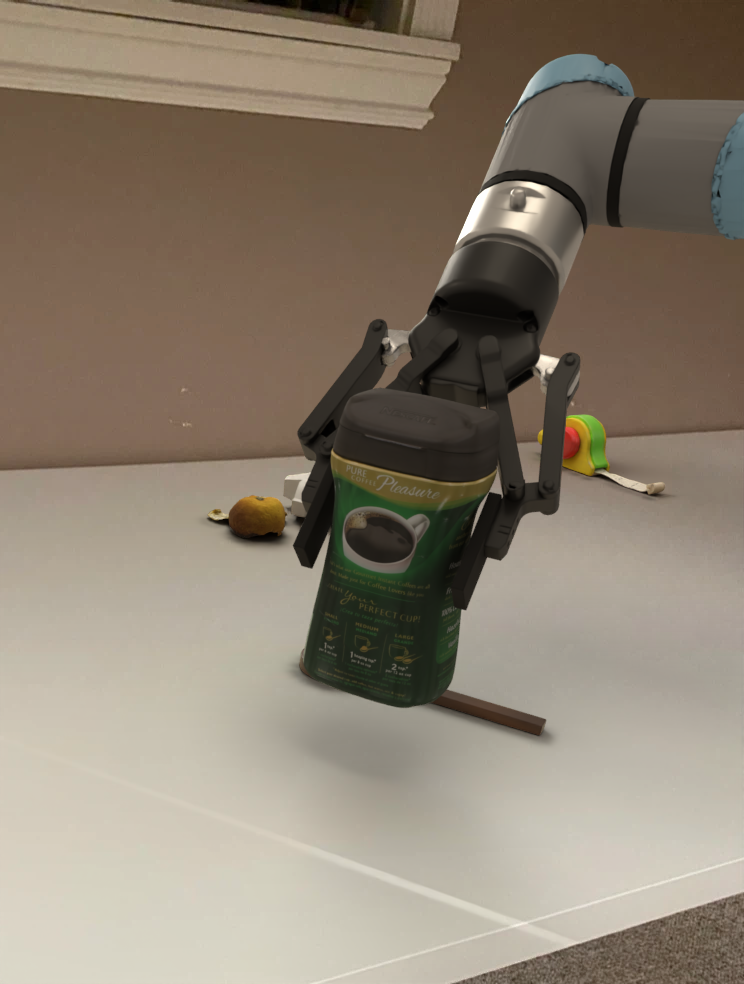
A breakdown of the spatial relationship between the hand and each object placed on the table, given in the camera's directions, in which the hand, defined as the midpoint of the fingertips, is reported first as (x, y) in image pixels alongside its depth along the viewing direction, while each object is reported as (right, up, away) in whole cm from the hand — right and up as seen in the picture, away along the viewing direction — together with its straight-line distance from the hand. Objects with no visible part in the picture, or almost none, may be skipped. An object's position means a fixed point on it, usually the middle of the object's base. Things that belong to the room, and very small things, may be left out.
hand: (378, 577), depth 67 cm
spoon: (+5, -7, +17) cm, 19 cm away
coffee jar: (+1, -6, +7) cm, 9 cm away
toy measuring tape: (+40, +23, +76) cm, 89 cm away
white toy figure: (+4, +14, +54) cm, 56 cm away
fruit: (-5, +11, +47) cm, 49 cm away
